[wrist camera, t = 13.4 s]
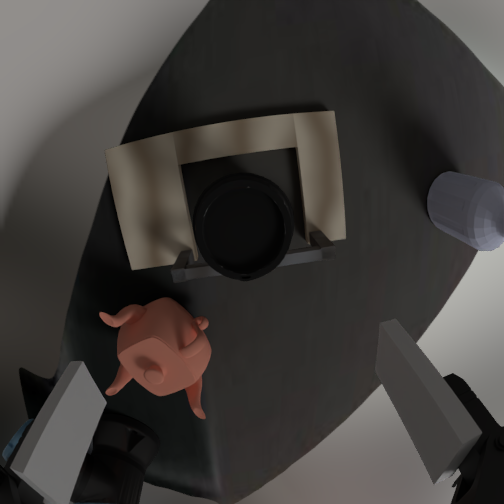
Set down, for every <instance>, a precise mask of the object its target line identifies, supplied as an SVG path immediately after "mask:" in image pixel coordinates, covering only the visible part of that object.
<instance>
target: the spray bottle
mask: <svg viewBox="0 0 504 504" xmlns="http://www.w3.org/2000/svg"><path fill="white" fill-rule="evenodd" d="M427 210H428V213H429V217H430V219H431V221H432V222H433V224H434V225H435V226H436V227H437V228H439V229H441V230H442V231H444V232H446V233H448V234H450V235H452V236H454V237H456V238H458V239H460V240H461V241H463V242H465V243H467V244H469V245H470V246H472V247H474V248H476V249H478V250H479V251H492V250H494V249H496V248H498V247H499V246H500V245H501V244H502V243H503V242H504V188H503V187H502V186H501V185H500V184H499V183H498V182H494V181H490V180H486V179H482V178H478V177H474V176H470V175H466V174H461V173H456V172H452V171H448V172H445V173H442V174H441V175H439V176H438V177H437V178H436V179H435V180H434V182H433V183H432V185H431V187H430V189H429V193H428V197H427Z"/></svg>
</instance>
